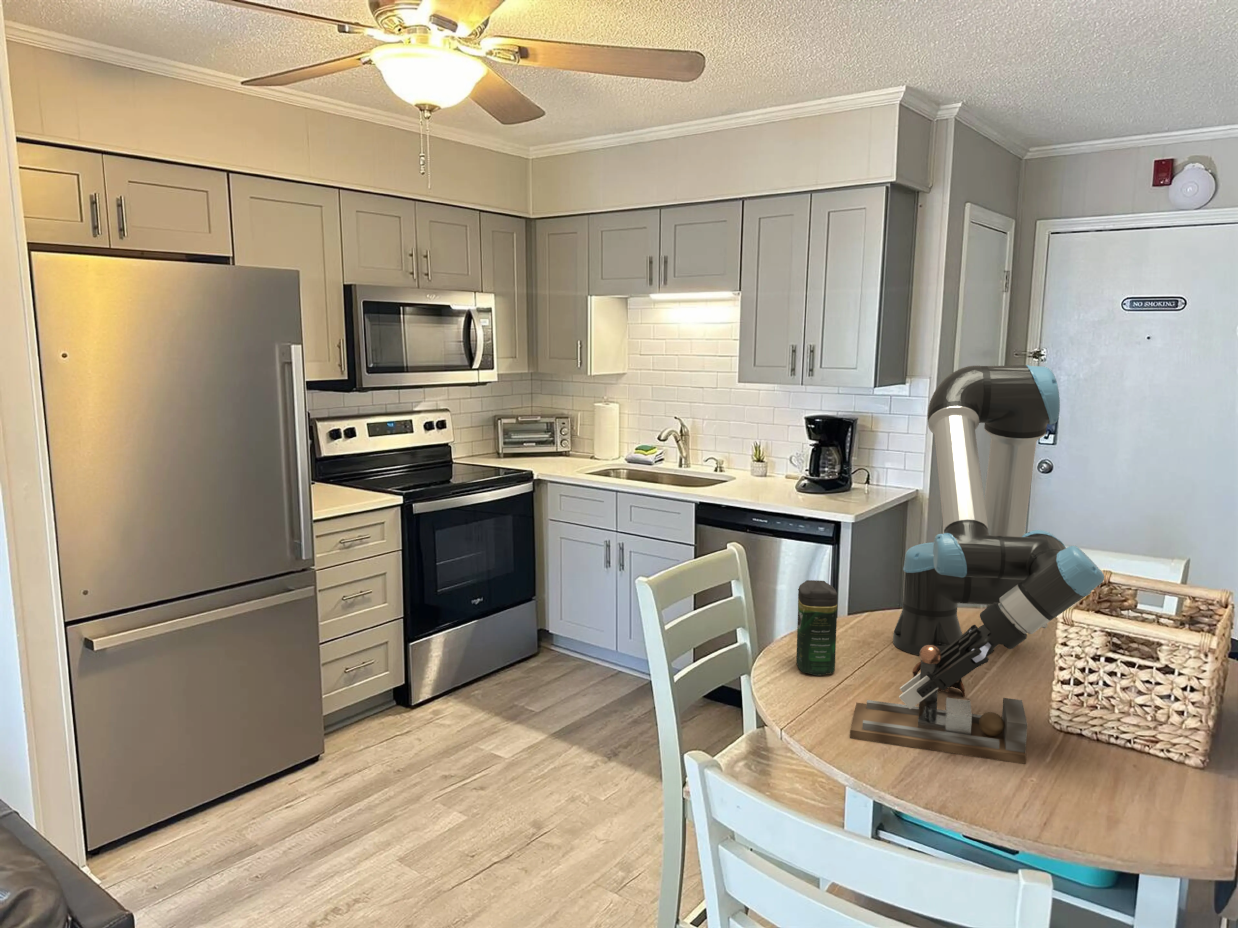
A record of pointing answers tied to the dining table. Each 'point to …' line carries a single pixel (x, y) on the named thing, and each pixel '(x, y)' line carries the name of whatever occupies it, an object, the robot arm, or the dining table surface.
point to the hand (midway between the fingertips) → (905, 698)
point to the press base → (985, 741)
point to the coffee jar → (816, 627)
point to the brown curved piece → (956, 685)
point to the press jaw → (956, 709)
